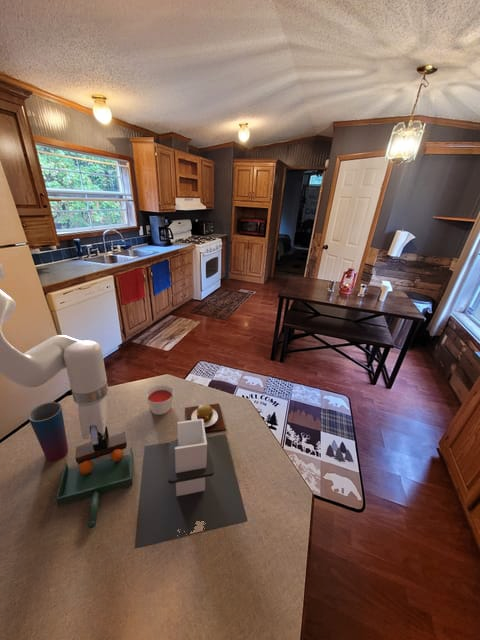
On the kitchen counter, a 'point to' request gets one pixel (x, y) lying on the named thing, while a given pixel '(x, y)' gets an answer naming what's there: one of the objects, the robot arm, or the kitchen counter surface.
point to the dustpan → (95, 483)
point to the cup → (50, 429)
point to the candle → (160, 399)
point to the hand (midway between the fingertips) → (101, 443)
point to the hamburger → (207, 416)
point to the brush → (88, 453)
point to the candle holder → (187, 486)
